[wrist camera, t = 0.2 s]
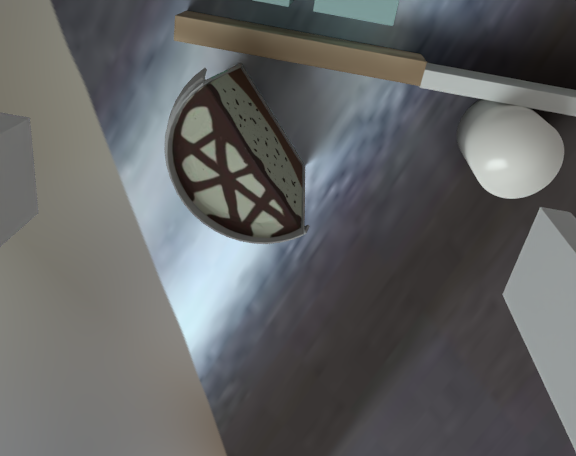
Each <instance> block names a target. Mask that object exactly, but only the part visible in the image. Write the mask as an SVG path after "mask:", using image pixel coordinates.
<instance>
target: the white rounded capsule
mask: <svg viewBox="0 0 576 456" xmlns="http://www.w3.org/2000/svg"><path fill="white" fill-rule="evenodd" d="M457 143H458V146H459V148H460V150H461V152H462V154H463V156H464V157H465V159H466V161H467V162H468V164H469V166H470V167H471V169H472V171H473V173H474V174H475V176H476V178H477V179H478V181H479V183H480V184H481V185H482V187H483V188H484V189H486V190H487V191H488V192H490V193H491V194H493V195H496V196H498V197H502V198H512V199H514V198H522V197H526V196H529V195H532V194H534V193H536V192H538V191H540V190H541V189H543V188H544V187H546V186H547V185H548V184H549V183H550V182H551V181H552V180H553V179H554V178H555V176H556V175H557V173H558V172H559V170H560V168H561V165H562V162H563V158H564V146H563V141H562V139H561V137H560V135H559V133H558V132H557V131H556V130H555V128H553V127H552V126H551V125H550V124H549V123H547V122H546V121H545V120H544V119H543V118H542V117H540V116H539V115H538V114H537V113H536V112H535V111H533V110H532V109H531V108H528V107H522V106H517V105H512V104H506V103H501V102H495V101H490V100H485V99H481V100H479V101H477V102H476V103H474V104H473V105H472V106H471V107H470V108H469V109H468V110H467V111H466V112H465V113H464V115H463V116H462V118H461V120H460V122H459V125H458V129H457Z"/></svg>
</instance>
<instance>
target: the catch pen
mask: <svg viewBox="0 0 576 456" xmlns="http://www.w3.org/2000/svg"><path fill="white" fill-rule="evenodd" d="M419 87H420V88H425V89H431V90H436V91H441V92H447V93H452V94H458V95H463V96H468V97H474V98H479V99H485V100H490V101H495V102H501V103H506V104H512V105H517V106H522V107H528V108H533V109H539V110H544V111H549V112H555V113H560V114H566V115H571V116H576V90H573V89H567V88H562V87H556V86H551V85H546V84H540V83H535V82H529V81H524V80H519V79H513V78H508V77H502V76H497V75H492V74H486V73H481V72H475V71H470V70H465V69H459V68H454V67H448V66H443V65H438V64H432V63H427V64H426V67H425V71H424V74H423V78H422V81H421V85H420V86H419Z"/></svg>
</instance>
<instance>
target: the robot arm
mask: <svg viewBox="0 0 576 456" xmlns="http://www.w3.org/2000/svg"><path fill="white" fill-rule="evenodd" d="M37 214H38V204H37V193H36V181H35V171H34V159H33V148H32V137H31V126H30V118H29V117H23V116H17V115H12V114H6V113H0V247H1V246H2V245H3V244H4V243H5V242H6V241H7V240H8V239H10V238H11V237H12V236H13V235H14V234H15V233H16V232H18V231H19V230H20V229H21V228H22V227H23V226H24V225H25V224H27V223H28V222H29V221H30V220H31V219H32V218H33V217H34V216H36V215H37ZM503 297H504V299H505V301H506V303H507V306H508V308H509V310H510V312H511V314H512V316H513V318H514V321H515V323H516V325H517V327H518V329H519V331H520V333H521V336H522V338H523V340H524V342H525V344H526V346H527V348H528V351H529V353H530V355H531V357H532V359H533V361H534V363H535V366H536V368H537V370H538V372H539V374H540V376H541V378H542V381H543V383H544V385H545V387H546V389H547V391H548V393H549V396H550V398H551V400H552V402H553V404H554V406H555V408H556V411H557V413H558V415H559V417H560V419H561V421H562V423H563V426H564V428H565V430H566V432H567V434H568V436H569V438H570V441H571V443H572V445H573V447H574V449H575V451H576V218H575V217H574V216H573V215H572V214H571V213H570V212H566V211H560V210H554V209H549V208H543V207H540V209H539V211H538V213H537V216H536V218H535V220H534V223H533V225H532V227H531V230H530V232H529V234H528V237H527V239H526V241H525V244H524V246H523V248H522V251H521V253H520V255H519V257H518V260H517V262H516V264H515V267H514V269H513V271H512V274H511V276H510V278H509V281H508V283H507V285H506V288H505V290H504V292H503Z"/></svg>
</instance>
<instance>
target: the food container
mask: <svg viewBox="0 0 576 456" xmlns="http://www.w3.org/2000/svg"><path fill="white" fill-rule="evenodd" d="M206 71H207V69H206V68H204V69H203V70H201V71H200V72H199V73H198V74H196V75H195V76H194V77H193V78H192V79H191V80H190V81H189V82H188V84H187V85H186V86H185V87H184V88H183V90H182V91H181V93H180V94H179V96H178V98H177V99H176V101H175V104H174V106H173V109H172V111H171V114H170V117H169V121H168V125H167V130H166V134H165V158H166V165H167V169H168V172H169V176H170V179H171V181H172V183H173V185H174V188H175V190H176V192H177V194H178V195H179V197H180V198H181V200H182V202H183V203H184V205H185V206H186V207H187V208H188V209H189V210H190V211H191V213H192V214H193V215H194V216H195V217H197V218H198V219H199V220H200V221H201V222H202V223H203V224H205V225H206V226H208V227H210V228H211V229H213V230H214V231H216V232H218V233H220V234H222V235H224V236H226V237H229V238H232V239H235V240H238V241H243V242H249V243H257V244H270V243H280V242H284V241H288V240H293V239H295V238H298V237H300V236H303V235H304V234H306V233H307V231H308V229H309V225H306V226H304V217H305V165H304V163H303V162H302V160H301V159H300V157H299V155H298V154H297V152H296V151H295V149H294V147H293V146H292V144H291V143H290V141H289V139H288V138H287V136H286V135H285V133H284V131H283V130H282V128H281V127H280V125H279V123H278V122H277V120H276V119H275V117H274V115H273V114H272V112H271V111H270V109H269V107H268V106H267V104H266V103H265V101H264V99H263V98H262V96H261V95H260V93H259V91H258V90H257V88H256V87H255V85H254V83H253V82H252V80H251V79H250V77H249V75H248V74H247V72H246V71H245V69H244V67H243V66H242V64H239V65H237V66H234V67H232V68H230V69H228V70H226V71H224V72H222V73H220V74H217V75H215V76H213V77H211V78H209V79H207V80H205V74H206Z"/></svg>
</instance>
